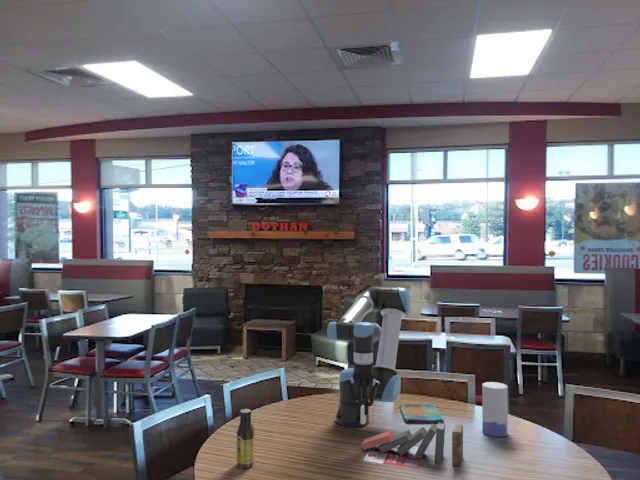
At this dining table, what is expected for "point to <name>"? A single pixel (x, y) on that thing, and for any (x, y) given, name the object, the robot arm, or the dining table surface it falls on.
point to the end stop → (457, 445)
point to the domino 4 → (439, 442)
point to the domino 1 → (396, 441)
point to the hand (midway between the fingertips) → (363, 422)
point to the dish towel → (420, 413)
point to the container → (495, 409)
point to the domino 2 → (412, 441)
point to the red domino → (377, 440)
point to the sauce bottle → (245, 440)
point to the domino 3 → (426, 441)
